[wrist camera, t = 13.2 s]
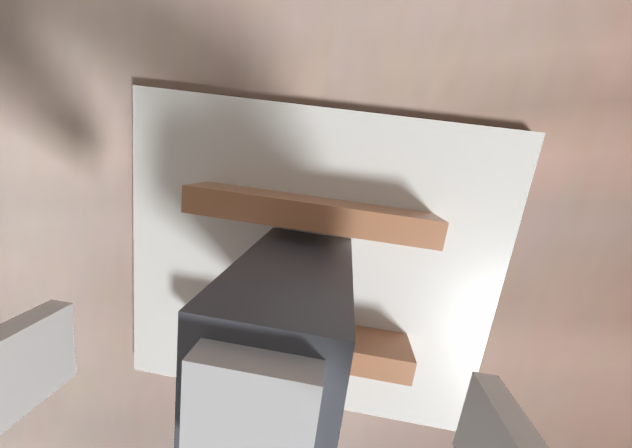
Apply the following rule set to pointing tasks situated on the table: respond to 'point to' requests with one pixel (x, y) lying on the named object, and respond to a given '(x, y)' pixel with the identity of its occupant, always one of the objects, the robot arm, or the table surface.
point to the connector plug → (268, 347)
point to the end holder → (334, 228)
